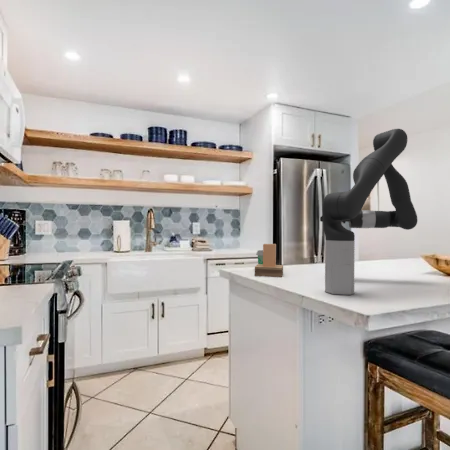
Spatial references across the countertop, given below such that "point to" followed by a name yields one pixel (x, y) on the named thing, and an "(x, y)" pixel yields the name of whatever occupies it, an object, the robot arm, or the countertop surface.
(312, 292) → the countertop surface
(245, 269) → the countertop surface
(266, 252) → the orange brick
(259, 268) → the walnut base block
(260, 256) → the food container
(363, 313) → the countertop surface
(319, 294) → the countertop surface
